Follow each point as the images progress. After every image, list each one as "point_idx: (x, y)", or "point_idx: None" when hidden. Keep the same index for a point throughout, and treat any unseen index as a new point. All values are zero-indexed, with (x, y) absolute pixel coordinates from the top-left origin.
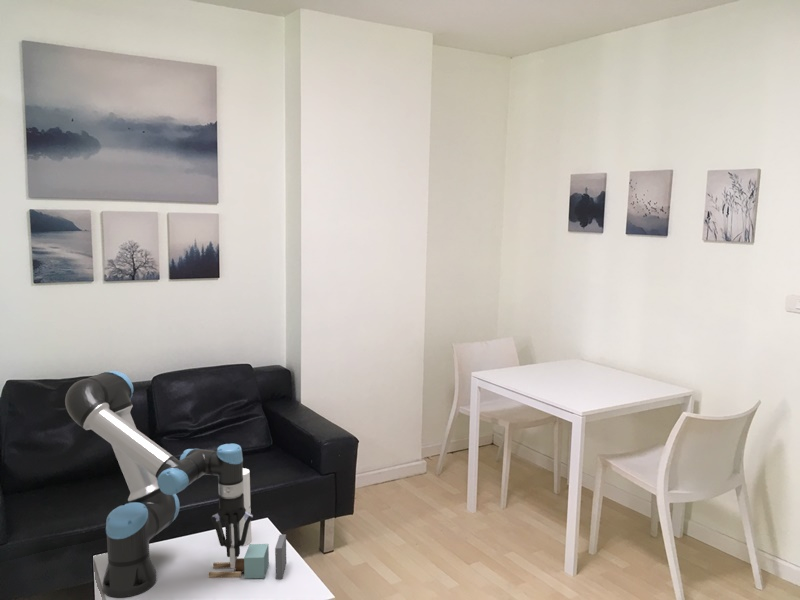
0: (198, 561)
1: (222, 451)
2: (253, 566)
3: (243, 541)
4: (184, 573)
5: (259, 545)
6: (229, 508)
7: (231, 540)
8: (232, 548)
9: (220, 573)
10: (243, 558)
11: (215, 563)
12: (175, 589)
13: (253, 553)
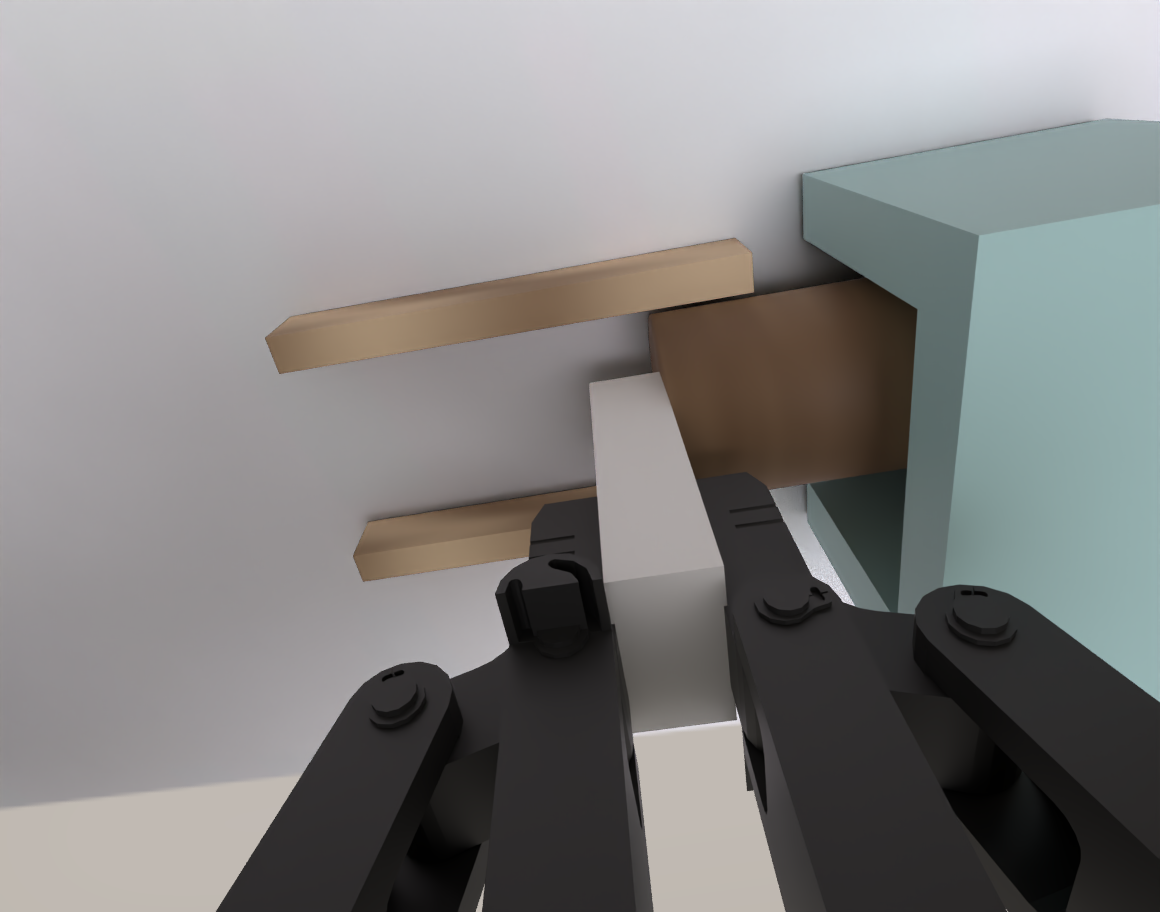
0: None
1: None
2: None
3: (1040, 834)
4: (33, 505)
5: None
6: None
7: (619, 695)
8: (690, 722)
9: (509, 555)
10: (792, 407)
11: (309, 362)
12: (186, 741)
13: (1093, 602)
